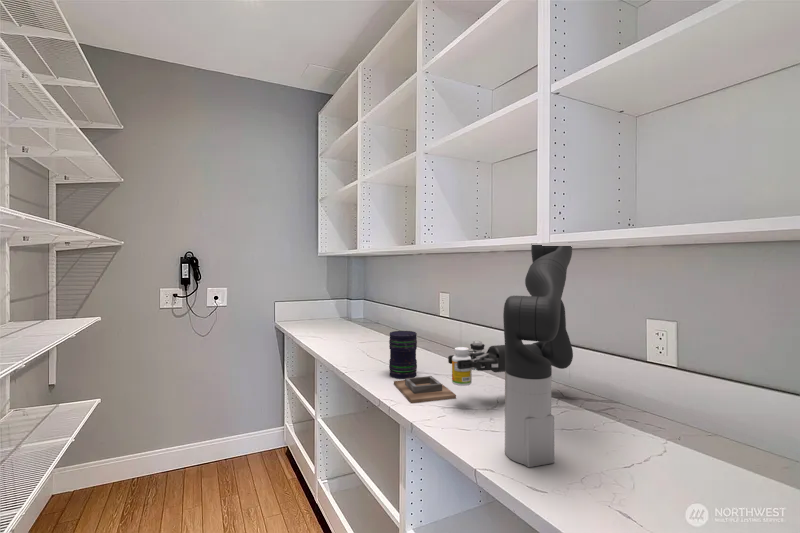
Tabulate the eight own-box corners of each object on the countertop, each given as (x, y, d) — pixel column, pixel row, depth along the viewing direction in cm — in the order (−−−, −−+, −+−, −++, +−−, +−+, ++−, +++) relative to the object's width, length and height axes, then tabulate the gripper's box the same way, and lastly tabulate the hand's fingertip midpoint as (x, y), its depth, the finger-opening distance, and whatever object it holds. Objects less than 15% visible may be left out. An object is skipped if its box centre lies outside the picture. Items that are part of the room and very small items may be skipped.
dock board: (456, 398, 115) (456, 388, 115) (411, 403, 111) (411, 392, 111) (433, 380, 132) (433, 371, 132) (393, 384, 128) (393, 375, 128)
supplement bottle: (456, 379, 112) (456, 345, 112) (474, 382, 109) (474, 347, 109) (449, 384, 107) (448, 349, 107) (467, 387, 105) (467, 351, 105)
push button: (480, 365, 151) (480, 339, 151) (490, 368, 146) (490, 342, 146) (467, 367, 148) (467, 341, 148) (476, 371, 143) (476, 344, 143)
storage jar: (383, 375, 138) (383, 333, 138) (401, 369, 145) (401, 329, 145) (404, 381, 131) (405, 337, 131) (422, 374, 139) (422, 332, 139)
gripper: (493, 340, 119) (442, 343, 115) (521, 350, 106) (464, 354, 101) (493, 364, 119) (442, 369, 115) (521, 377, 106) (464, 383, 101)
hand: (453, 362), depth 108 cm, fingers closed on supplement bottle, 5 cm apart
